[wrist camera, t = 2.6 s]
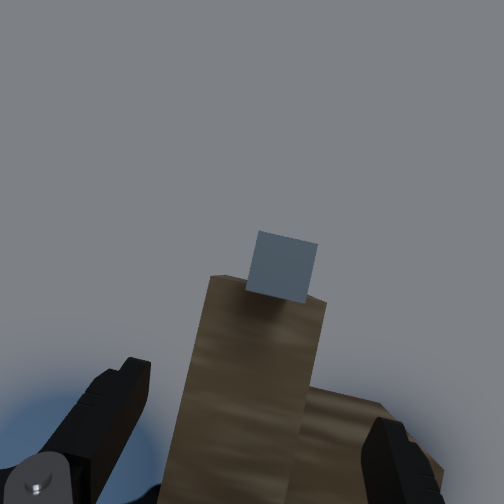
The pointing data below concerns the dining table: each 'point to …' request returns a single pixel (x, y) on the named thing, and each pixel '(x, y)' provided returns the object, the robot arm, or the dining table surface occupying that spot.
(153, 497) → the dining table surface
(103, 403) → the robot arm
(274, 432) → the plinth
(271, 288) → the blue-gray bar
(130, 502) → the dining table surface
